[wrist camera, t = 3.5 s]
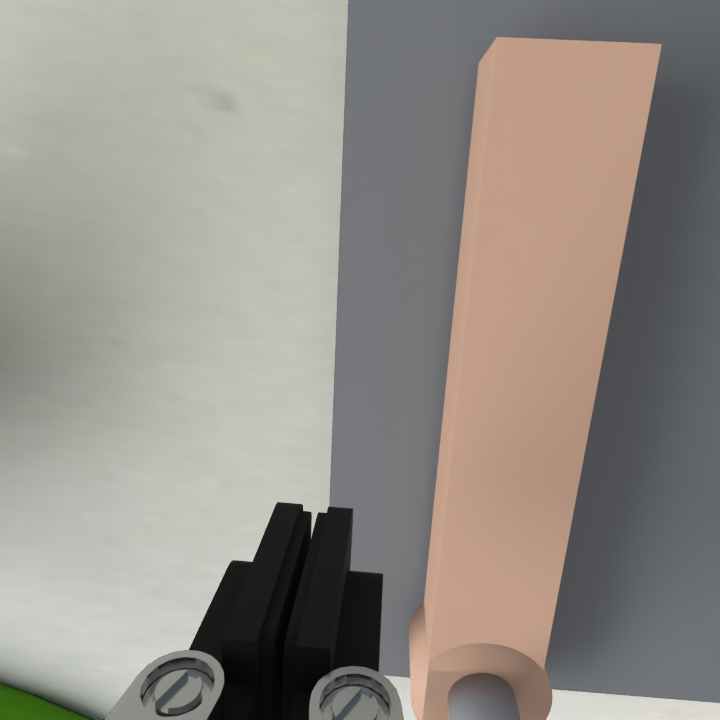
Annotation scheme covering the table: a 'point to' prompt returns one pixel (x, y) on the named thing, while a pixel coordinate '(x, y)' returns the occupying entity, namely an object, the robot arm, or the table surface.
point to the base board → (621, 353)
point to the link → (524, 362)
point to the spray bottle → (31, 707)
